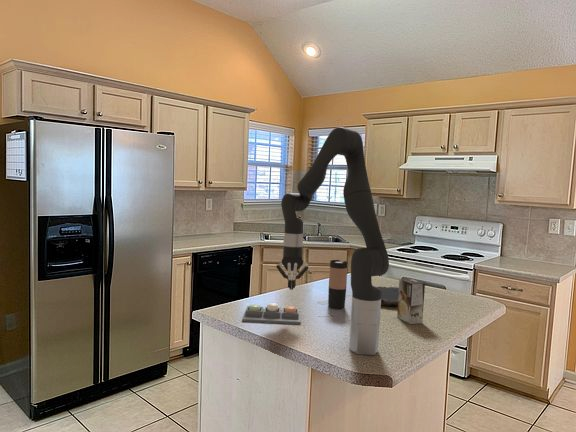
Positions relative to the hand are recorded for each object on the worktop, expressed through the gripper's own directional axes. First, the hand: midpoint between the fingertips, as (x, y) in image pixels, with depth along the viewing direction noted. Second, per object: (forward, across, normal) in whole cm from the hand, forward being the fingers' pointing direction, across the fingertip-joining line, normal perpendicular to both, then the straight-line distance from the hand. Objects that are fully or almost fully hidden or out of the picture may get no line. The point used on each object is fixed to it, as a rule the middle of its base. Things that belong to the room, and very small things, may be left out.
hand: (291, 289), depth 167 cm
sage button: (+10, -14, 0) cm, 17 cm away
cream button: (+9, -7, 0) cm, 11 cm away
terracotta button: (+10, 0, 0) cm, 10 cm away
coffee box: (+12, +48, +5) cm, 50 cm away
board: (+12, +45, +32) cm, 57 cm away
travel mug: (+12, +20, +19) cm, 30 cm away
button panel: (+12, -7, 0) cm, 14 cm away
